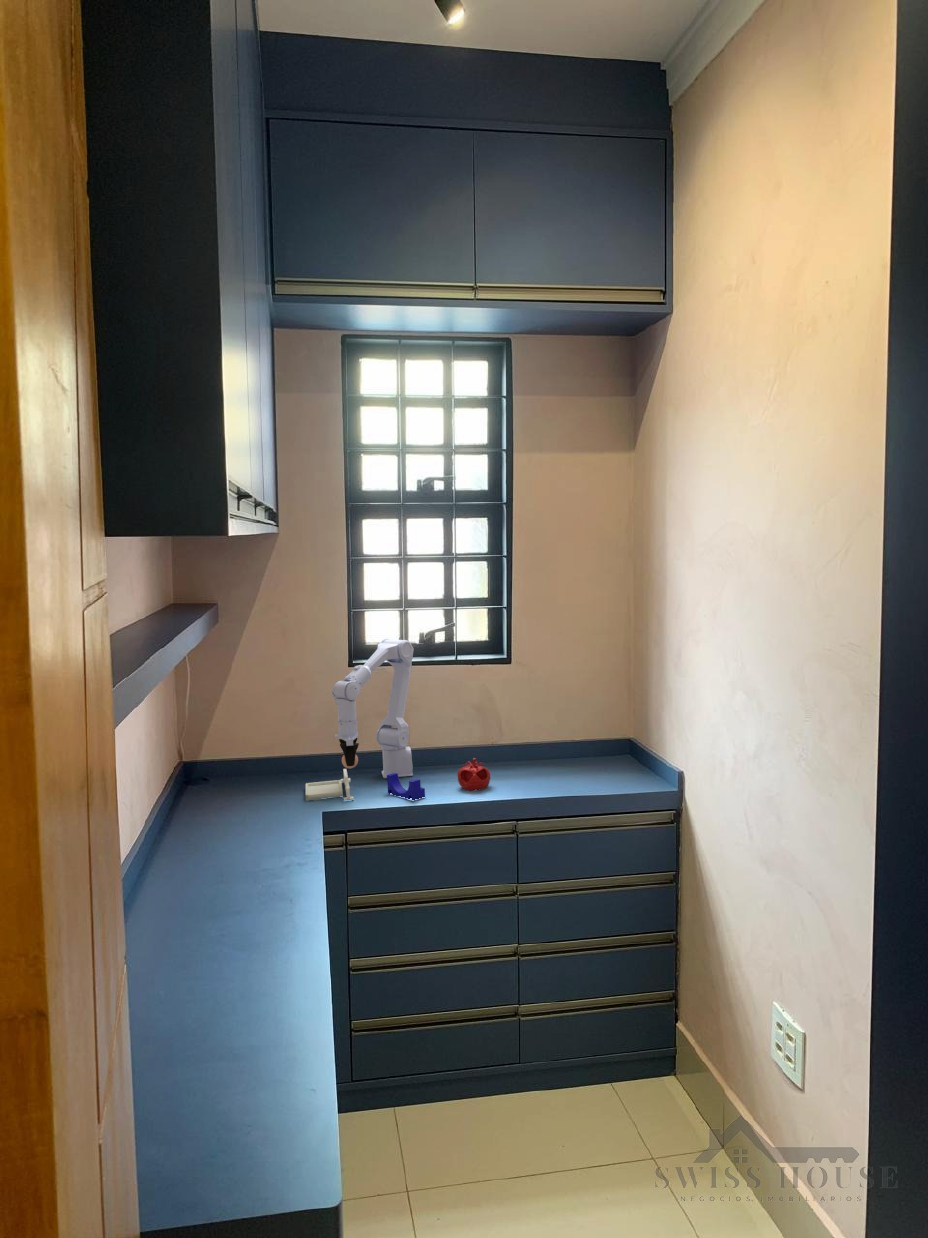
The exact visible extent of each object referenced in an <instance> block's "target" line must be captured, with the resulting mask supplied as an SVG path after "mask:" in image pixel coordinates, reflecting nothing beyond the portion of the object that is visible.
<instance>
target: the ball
mask: <svg viewBox="0 0 928 1238" xmlns="http://www.w3.org/2000/svg"><path fill="white" fill-rule="evenodd" d="M358 762H359V757H358V755H357V754H356V755H355V763H354V766H347V764H346V760H345V756H344V754H343V755H342V757H341V764H342V765H343V767H345V769H353V768H355V767H356V766H357V765H358V764H359V763H358Z"/></svg>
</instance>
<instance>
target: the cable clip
mask: <svg viewBox="0 0 928 1238" xmlns="http://www.w3.org/2000/svg"><path fill="white" fill-rule="evenodd" d="M399 778H400V777H398V774H397V773H392V774H389V775H387V778H386V782H387V794H388V793H389V794H388V795H390V793H392V794H393V795H392V796H394V795H396V796H395V797H397V796H401V797H405V798H408V799H410V798H412V800H415V799H419V798H422V797H425V798H426V788H424V787H422V785H421V779H419V778H415V779H412V780H409V781H408V788H407V789H406V788H404V787H403V785H402V783H401V781H400V779H399Z"/></svg>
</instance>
